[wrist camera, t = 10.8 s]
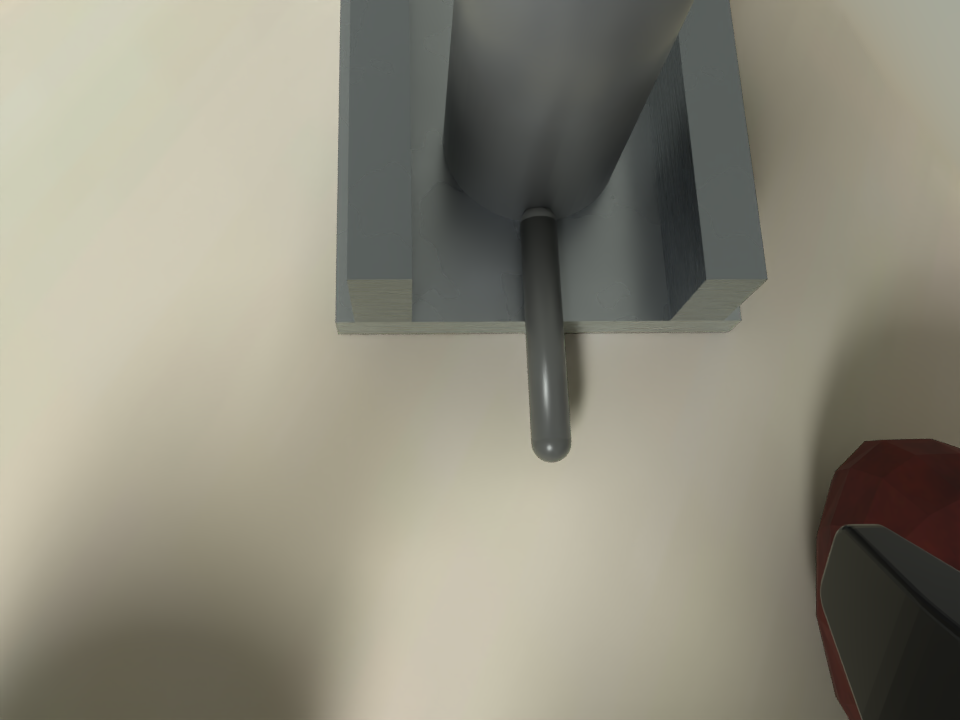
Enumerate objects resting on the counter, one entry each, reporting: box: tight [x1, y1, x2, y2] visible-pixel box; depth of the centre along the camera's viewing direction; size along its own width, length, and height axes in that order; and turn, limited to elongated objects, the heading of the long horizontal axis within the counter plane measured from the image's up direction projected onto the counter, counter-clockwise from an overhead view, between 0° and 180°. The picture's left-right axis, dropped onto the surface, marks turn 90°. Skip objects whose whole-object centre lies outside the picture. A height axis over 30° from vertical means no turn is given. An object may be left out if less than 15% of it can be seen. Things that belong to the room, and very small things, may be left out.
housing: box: [335, 0, 767, 334], centre depth 24 cm, size 11×11×4 cm
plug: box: [443, 0, 694, 462], centre depth 17 cm, size 12×5×14 cm, turn 2°
